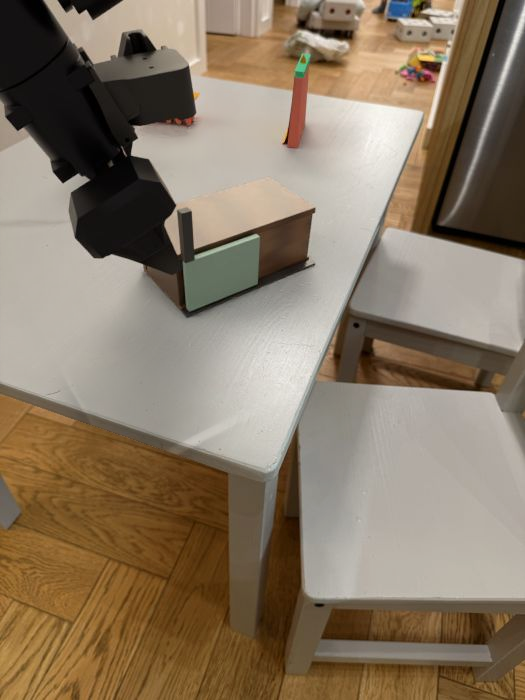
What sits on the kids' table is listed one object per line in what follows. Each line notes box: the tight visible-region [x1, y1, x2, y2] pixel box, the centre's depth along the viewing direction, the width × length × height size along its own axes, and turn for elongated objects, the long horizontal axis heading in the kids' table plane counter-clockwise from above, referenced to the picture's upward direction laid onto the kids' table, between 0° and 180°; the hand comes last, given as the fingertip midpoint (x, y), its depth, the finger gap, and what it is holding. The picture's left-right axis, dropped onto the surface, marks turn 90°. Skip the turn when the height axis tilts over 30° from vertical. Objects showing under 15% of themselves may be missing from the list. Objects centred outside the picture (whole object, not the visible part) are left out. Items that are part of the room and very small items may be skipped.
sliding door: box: [177, 207, 260, 312], centre depth 57 cm, size 10×1×13 cm, turn 126°
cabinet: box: [142, 176, 316, 318], centre depth 64 cm, size 20×11×8 cm, turn 126°
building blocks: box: [165, 53, 312, 149], centre depth 96 cm, size 12×35×14 cm, turn 80°
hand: (163, 240), depth 42 cm, fingers open, 9 cm apart
